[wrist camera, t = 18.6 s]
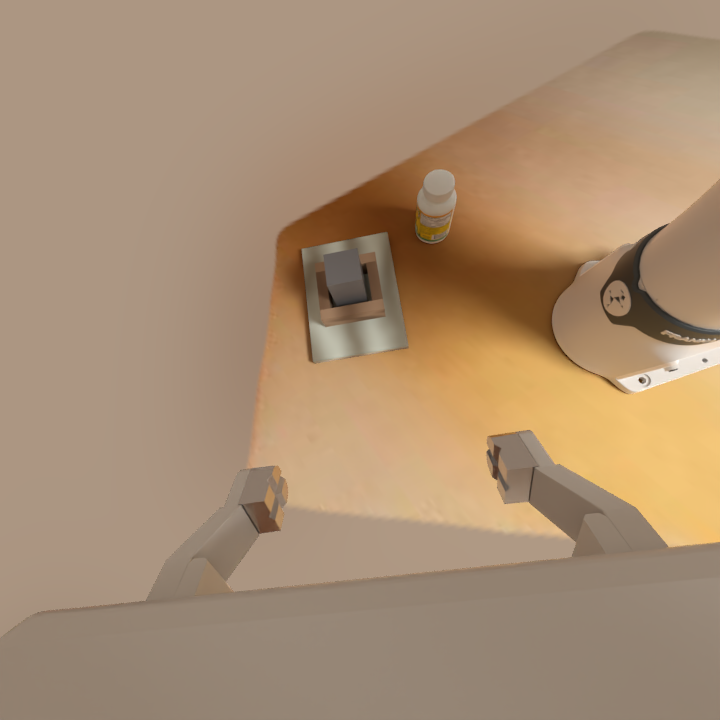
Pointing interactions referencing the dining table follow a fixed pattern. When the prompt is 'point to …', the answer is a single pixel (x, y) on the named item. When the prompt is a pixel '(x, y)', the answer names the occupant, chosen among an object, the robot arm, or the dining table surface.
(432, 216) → the supplement bottle
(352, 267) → the plug block
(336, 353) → the socket holder
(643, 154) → the dining table surface
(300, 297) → the dining table surface
